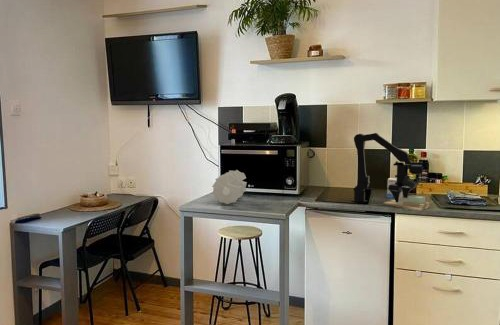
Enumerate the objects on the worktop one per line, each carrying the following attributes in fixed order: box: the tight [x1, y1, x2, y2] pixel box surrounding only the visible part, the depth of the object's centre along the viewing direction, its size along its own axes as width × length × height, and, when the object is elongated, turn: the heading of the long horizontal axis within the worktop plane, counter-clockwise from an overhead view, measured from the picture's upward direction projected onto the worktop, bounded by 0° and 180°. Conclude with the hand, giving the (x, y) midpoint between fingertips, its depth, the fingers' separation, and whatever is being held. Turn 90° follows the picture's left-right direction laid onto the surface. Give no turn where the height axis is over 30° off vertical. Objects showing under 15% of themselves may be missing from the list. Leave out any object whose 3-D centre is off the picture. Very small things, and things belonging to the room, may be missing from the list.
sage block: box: [396, 194, 426, 204], centre depth 214 cm, size 5×15×5 cm, turn 40°
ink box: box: [386, 177, 403, 199], centre depth 236 cm, size 9×5×12 cm, turn 62°
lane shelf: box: [382, 199, 431, 212], centre depth 215 cm, size 12×21×3 cm, turn 40°
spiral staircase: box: [212, 169, 248, 205], centre depth 232 cm, size 18×18×25 cm
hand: (401, 201), depth 218 cm, fingers open, 9 cm apart
